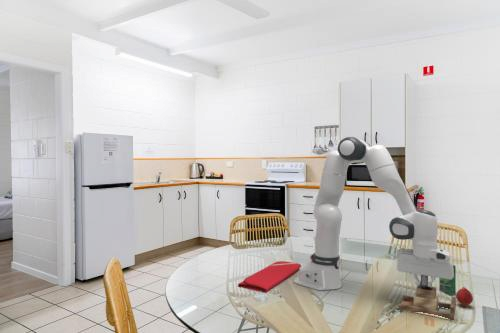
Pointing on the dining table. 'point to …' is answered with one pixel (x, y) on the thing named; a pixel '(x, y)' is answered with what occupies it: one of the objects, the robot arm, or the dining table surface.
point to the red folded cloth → (270, 276)
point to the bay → (409, 306)
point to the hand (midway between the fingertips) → (424, 286)
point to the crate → (426, 298)
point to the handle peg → (424, 282)
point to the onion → (464, 297)
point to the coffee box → (448, 284)
